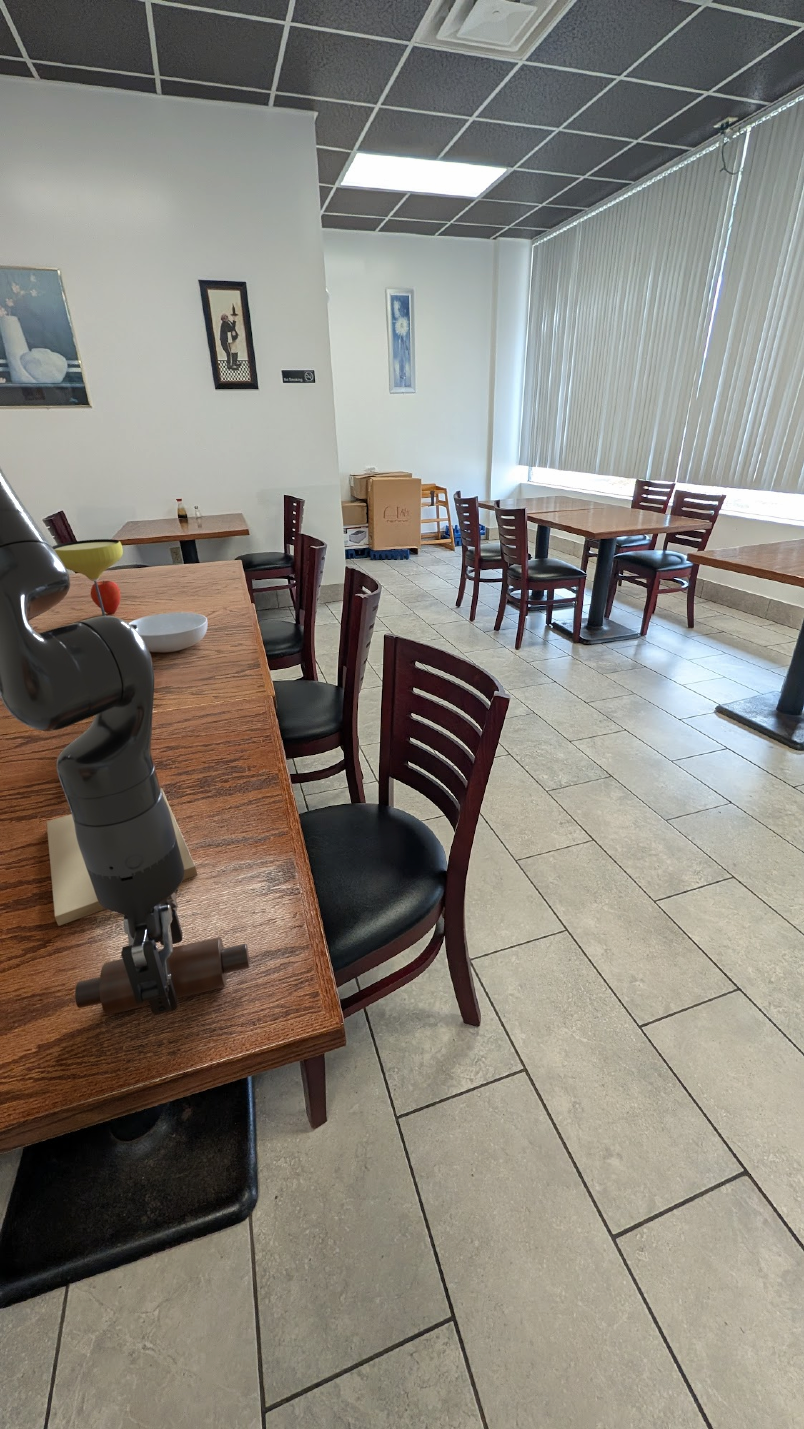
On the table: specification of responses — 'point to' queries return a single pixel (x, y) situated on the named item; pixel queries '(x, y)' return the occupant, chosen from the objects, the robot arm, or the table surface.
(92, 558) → the cocktail glass
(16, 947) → the table surface
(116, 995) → the rolling pin
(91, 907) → the pastry board
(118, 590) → the apple
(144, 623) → the serving bowl
